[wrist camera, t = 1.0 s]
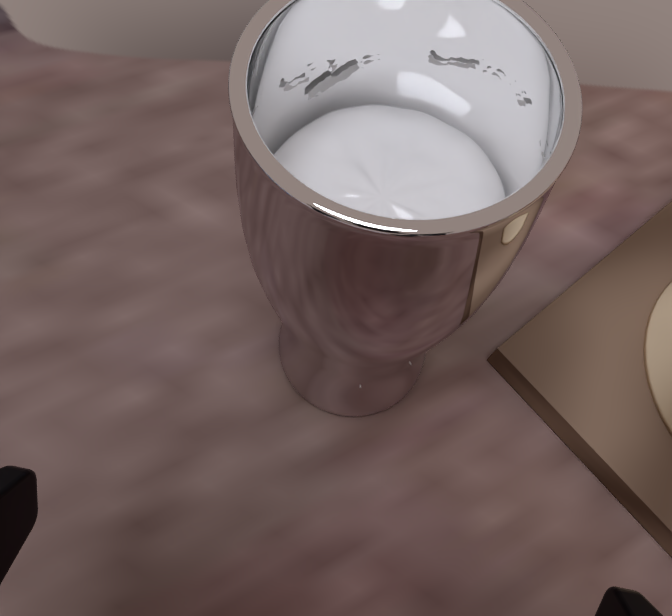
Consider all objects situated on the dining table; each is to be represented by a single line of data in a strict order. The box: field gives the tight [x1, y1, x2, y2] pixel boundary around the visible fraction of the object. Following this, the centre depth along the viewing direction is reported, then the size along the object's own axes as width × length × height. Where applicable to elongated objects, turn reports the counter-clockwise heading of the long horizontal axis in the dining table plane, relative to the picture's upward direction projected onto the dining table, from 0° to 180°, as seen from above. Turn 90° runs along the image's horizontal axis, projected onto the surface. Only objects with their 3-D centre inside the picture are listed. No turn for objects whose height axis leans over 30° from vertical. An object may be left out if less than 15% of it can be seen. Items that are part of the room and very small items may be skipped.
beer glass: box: [228, 0, 582, 417], centre depth 18 cm, size 7×7×15 cm
